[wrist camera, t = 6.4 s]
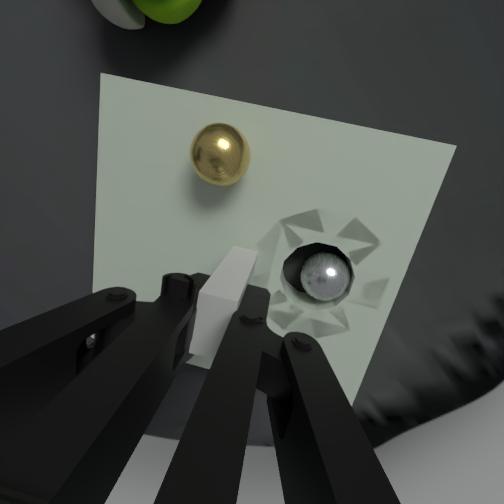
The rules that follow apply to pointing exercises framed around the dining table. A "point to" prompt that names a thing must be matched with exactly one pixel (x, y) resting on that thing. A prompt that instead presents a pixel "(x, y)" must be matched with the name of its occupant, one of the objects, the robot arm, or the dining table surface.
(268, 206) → the pale green flat slab
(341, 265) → the steel ball
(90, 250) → the dining table surface
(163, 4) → the rainbow disc rolling toy
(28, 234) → the dining table surface
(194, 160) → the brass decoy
